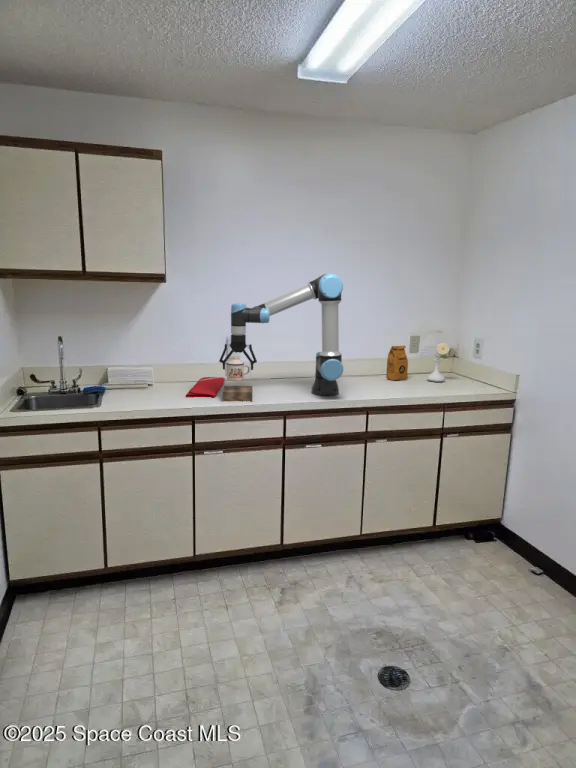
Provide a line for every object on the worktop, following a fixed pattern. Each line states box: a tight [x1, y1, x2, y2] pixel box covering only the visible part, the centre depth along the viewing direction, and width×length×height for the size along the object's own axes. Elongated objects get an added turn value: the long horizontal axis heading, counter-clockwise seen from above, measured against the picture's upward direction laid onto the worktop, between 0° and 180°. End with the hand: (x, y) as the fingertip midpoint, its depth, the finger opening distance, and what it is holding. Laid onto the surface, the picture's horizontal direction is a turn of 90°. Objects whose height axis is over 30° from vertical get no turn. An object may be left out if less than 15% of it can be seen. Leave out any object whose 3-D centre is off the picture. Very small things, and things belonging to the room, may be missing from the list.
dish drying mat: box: [185, 376, 226, 399], centre depth 286 cm, size 16×41×4 cm, turn 179°
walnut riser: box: [222, 385, 254, 403], centre depth 266 cm, size 15×15×5 cm
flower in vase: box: [426, 342, 451, 383], centre depth 323 cm, size 13×11×25 cm
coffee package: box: [385, 345, 409, 381], centre depth 325 cm, size 10×12×22 cm
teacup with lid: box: [225, 356, 250, 382], centre depth 264 cm, size 12×9×12 cm
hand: (237, 376), depth 265 cm, fingers closed on teacup with lid, 12 cm apart
